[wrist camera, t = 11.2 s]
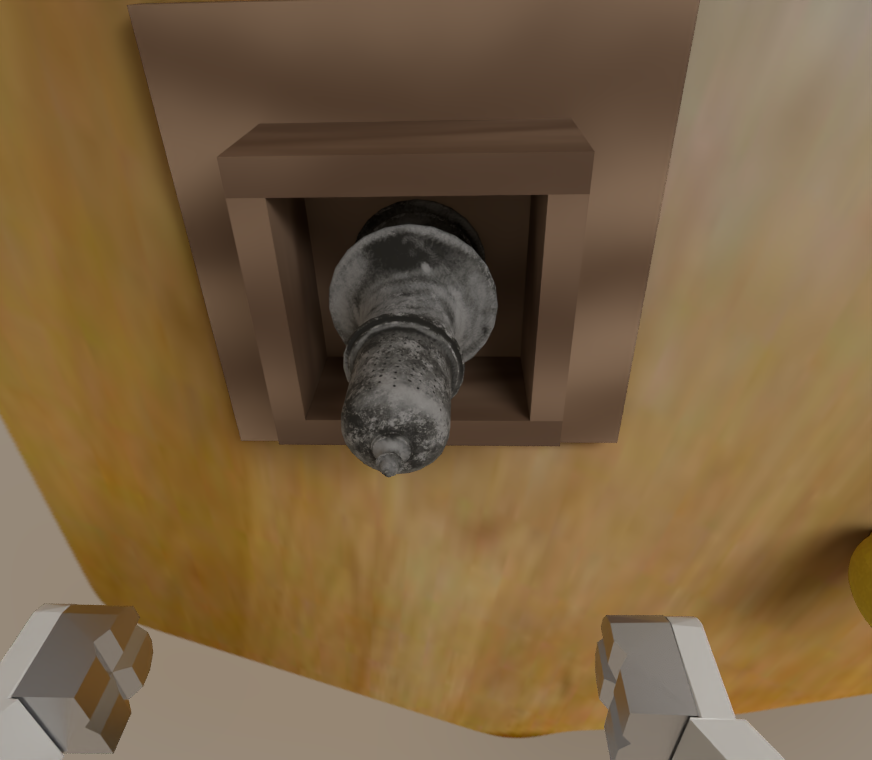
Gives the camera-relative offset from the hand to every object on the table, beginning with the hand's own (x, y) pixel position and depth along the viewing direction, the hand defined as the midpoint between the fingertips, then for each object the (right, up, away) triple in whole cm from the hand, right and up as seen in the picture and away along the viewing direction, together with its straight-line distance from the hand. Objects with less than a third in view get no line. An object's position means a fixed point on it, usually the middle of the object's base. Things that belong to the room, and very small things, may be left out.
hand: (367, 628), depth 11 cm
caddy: (+1, +9, +14) cm, 17 cm away
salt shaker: (+1, +9, +14) cm, 16 cm away
